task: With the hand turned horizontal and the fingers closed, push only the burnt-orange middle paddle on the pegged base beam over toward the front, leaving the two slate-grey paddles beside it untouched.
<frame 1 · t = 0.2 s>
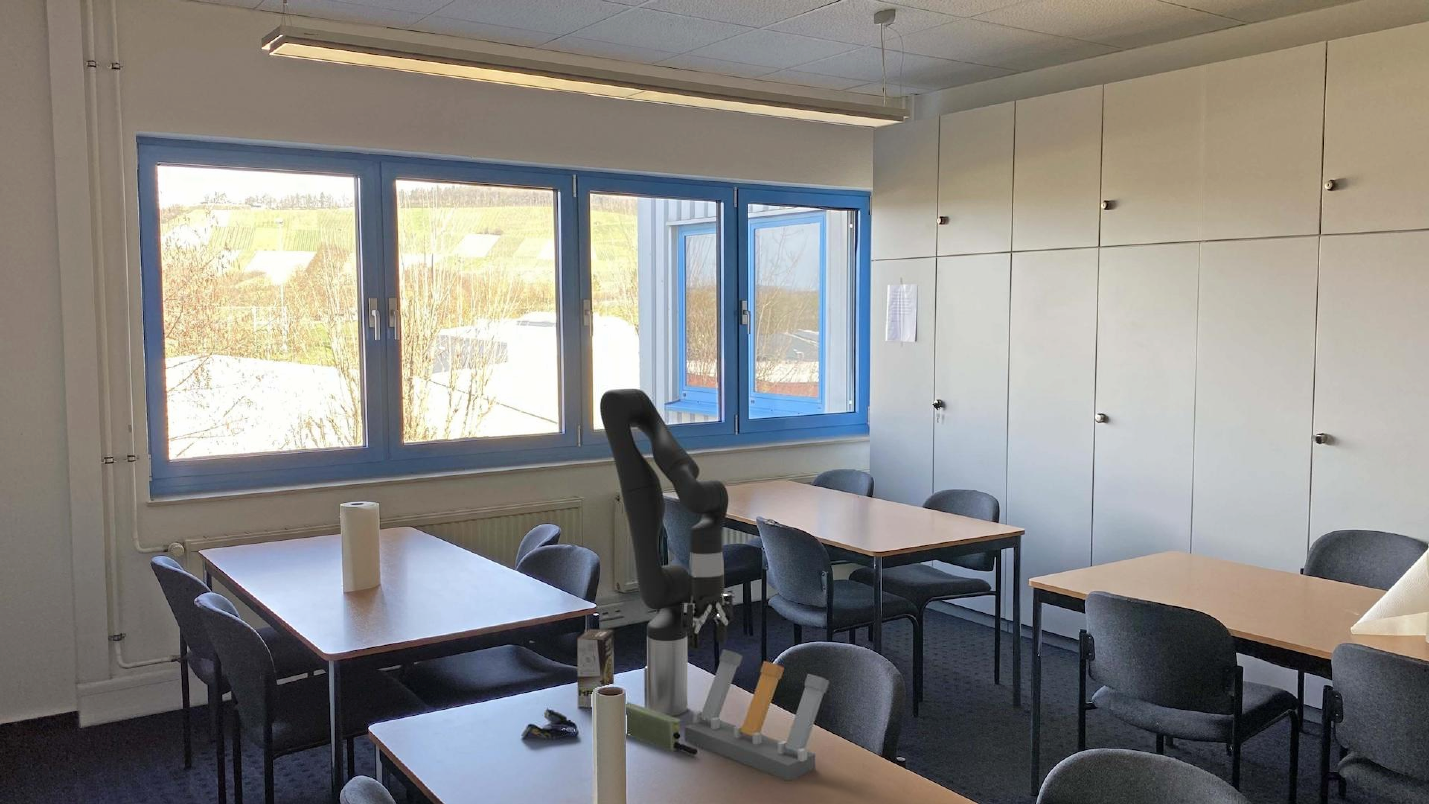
hand: (708, 646, 231), 18 cm above the table, tool pointing down, fingers open, 8 cm apart
orange paddle: (761, 699, 218), point 10 cm above the table, hinge at -30.0°
coffee box: (596, 702, 247), on the table
handheld radio: (652, 743, 223), on the table
pegged base beam: (747, 754, 216), on the table
left paddle: (720, 686, 226), point 10 cm above the table, hinge at -30.0°
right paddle: (806, 713, 209), point 10 cm above the table, hinge at -30.0°
snack package: (552, 737, 226), on the table
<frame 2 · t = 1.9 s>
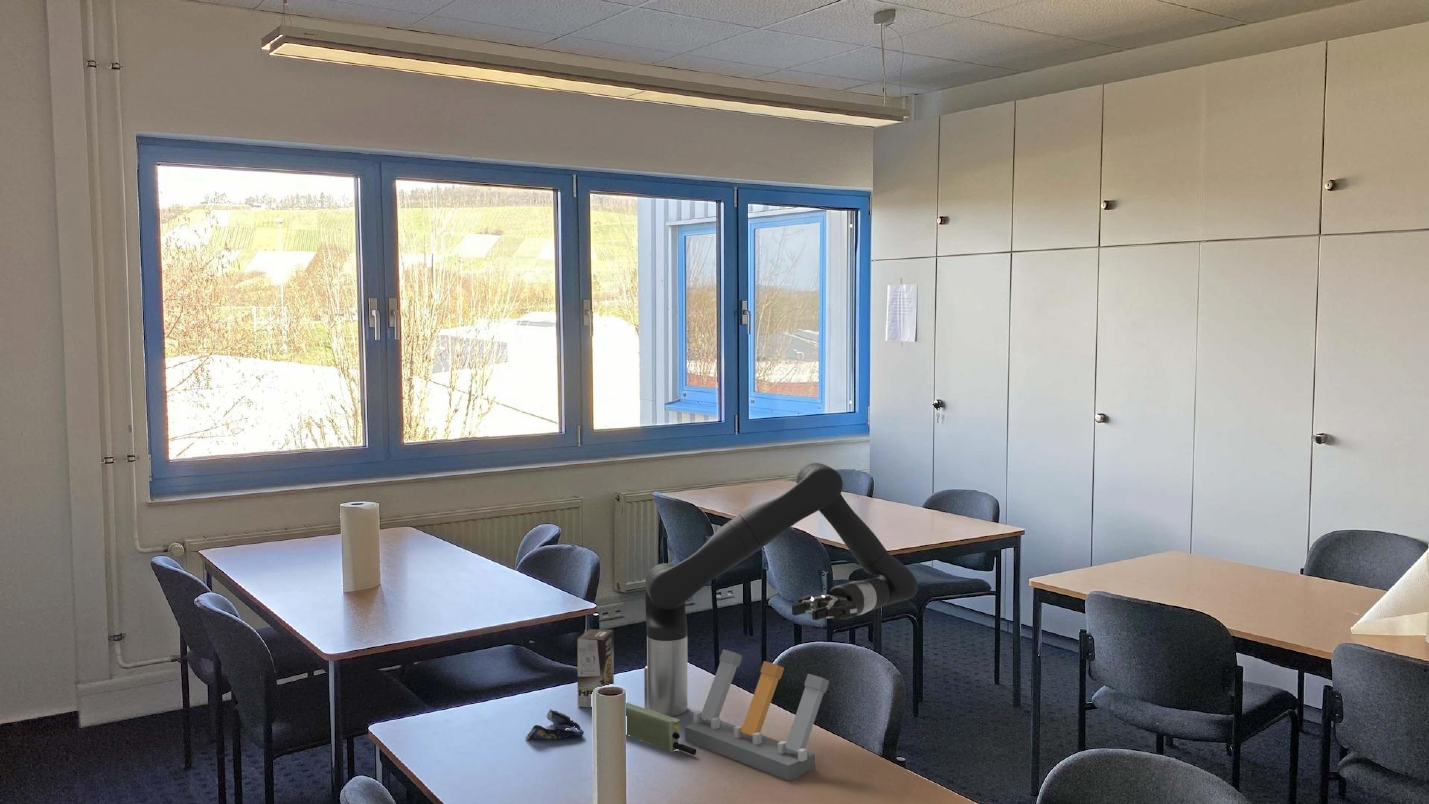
hand: (803, 613, 226), 26 cm above the table, tool horizontal, fingers open, 5 cm apart
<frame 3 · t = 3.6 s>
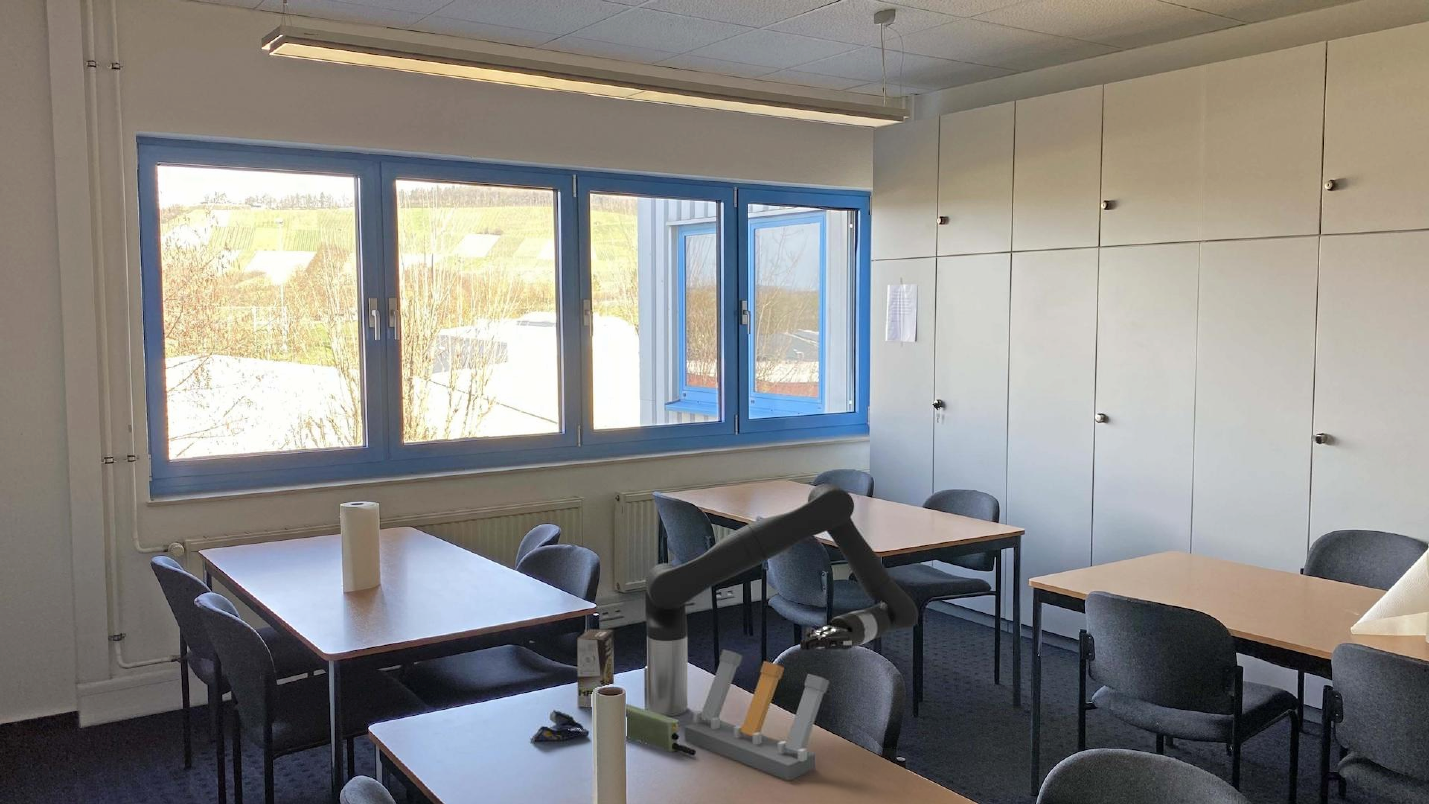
hand: (803, 646, 226), 19 cm above the table, tool horizontal, fingers closed
snack package: (561, 739, 226), on the table
everything else where it was.
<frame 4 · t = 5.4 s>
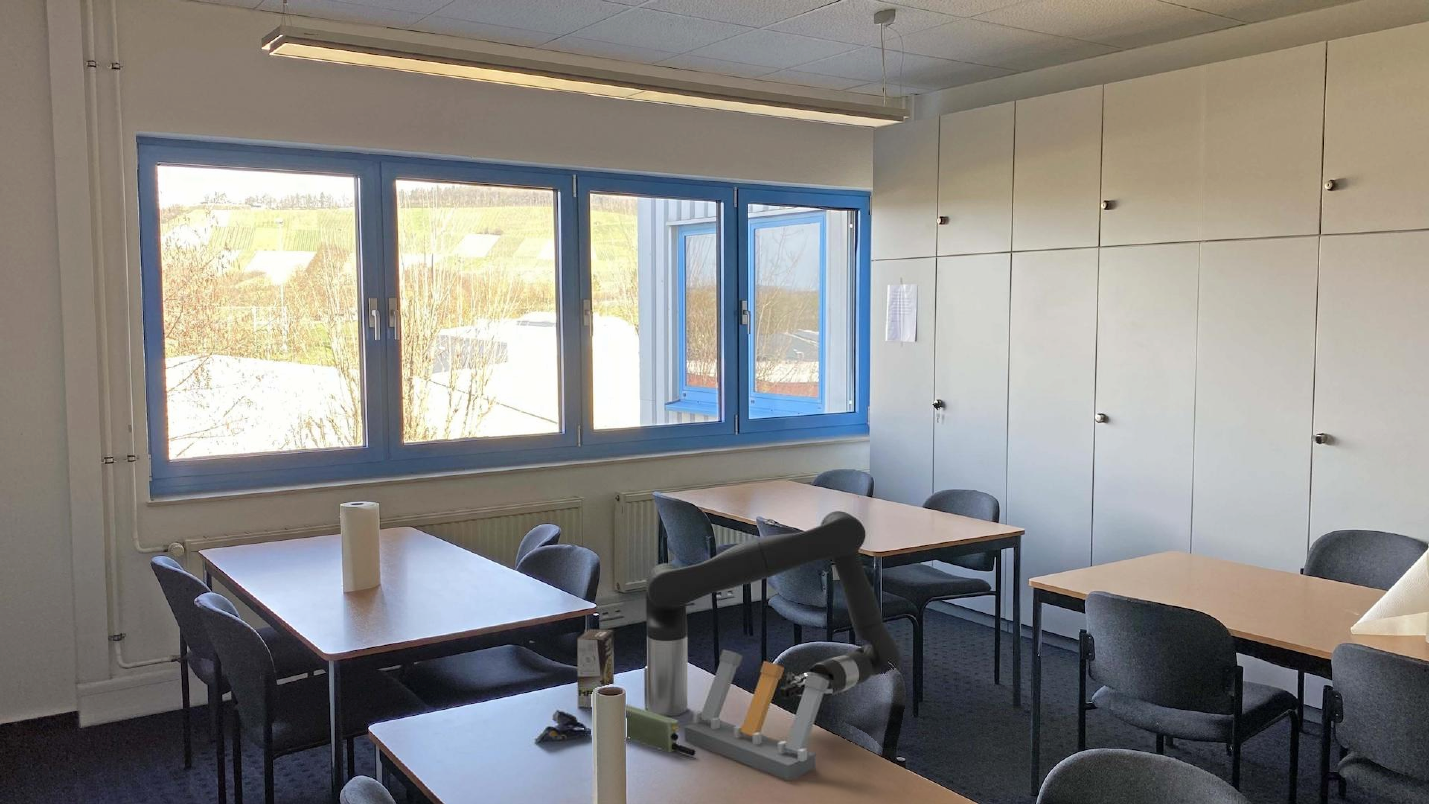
hand: (782, 693, 223), 10 cm above the table, tool horizontal, fingers closed
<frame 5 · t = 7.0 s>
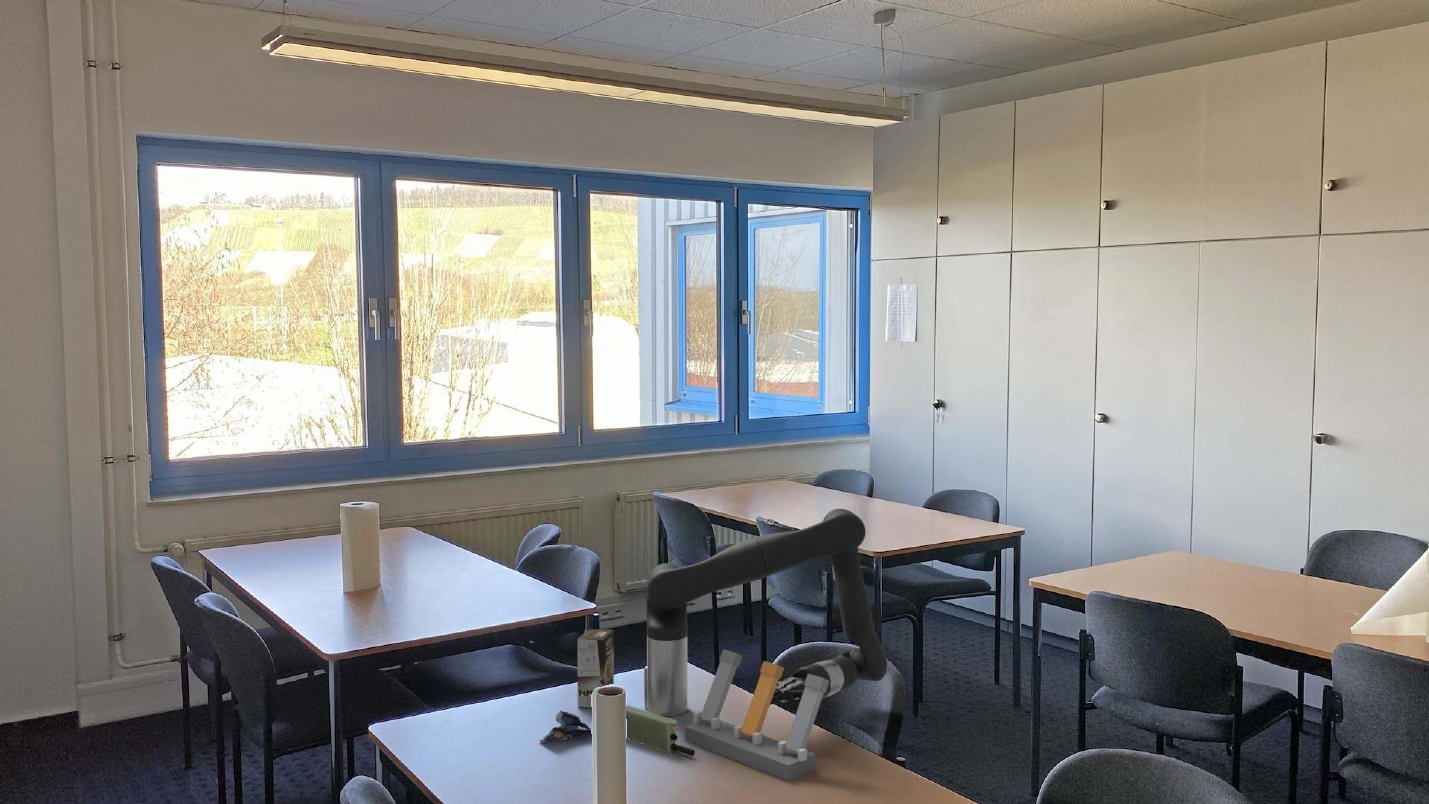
hand: (765, 699, 219), 10 cm above the table, tool horizontal, fingers closed
orange paddle: (761, 699, 218), point 10 cm above the table, hinge at -29.8°, touching gripper
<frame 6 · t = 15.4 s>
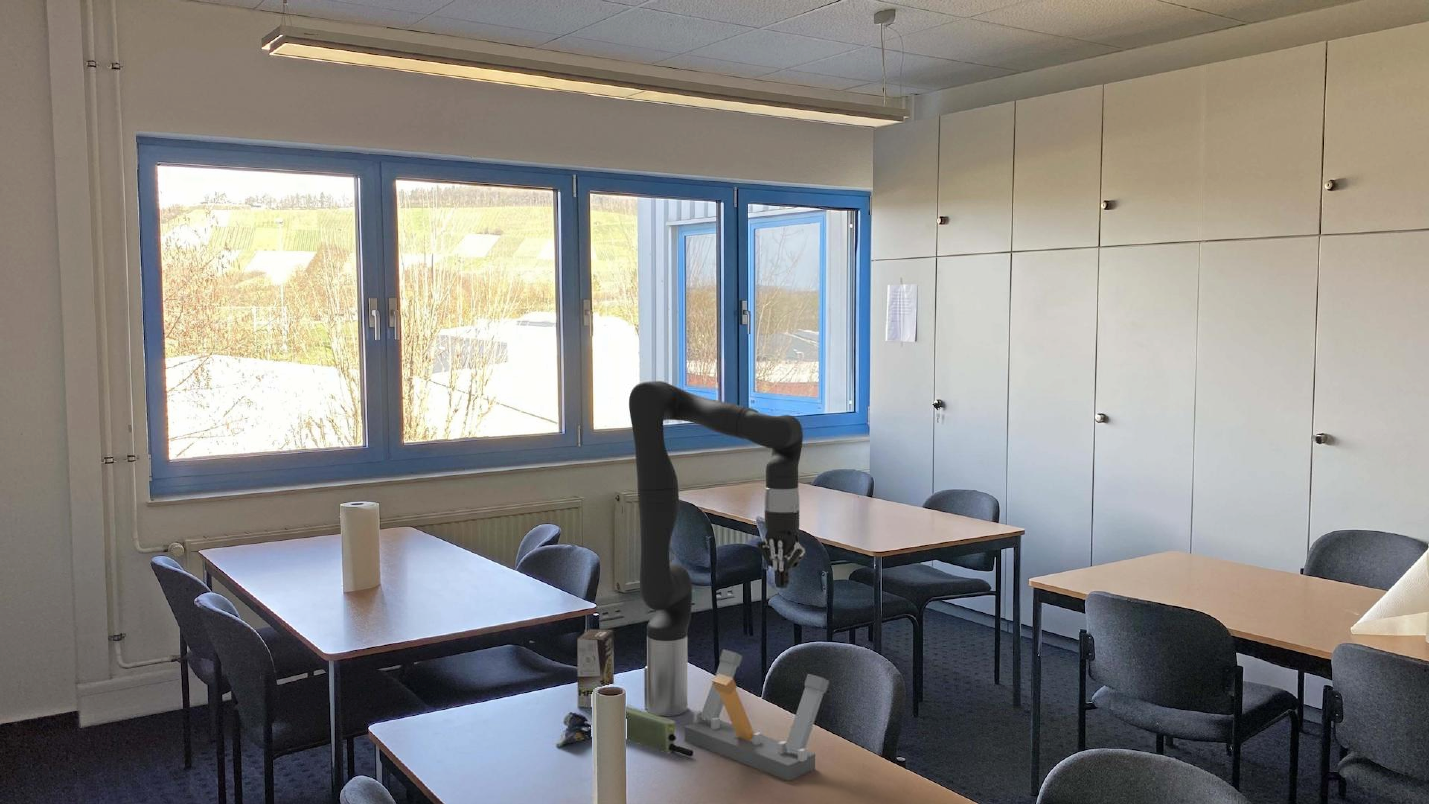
hand: (781, 587, 229), 31 cm above the table, tool pointing down, fingers closed
orange paddle: (734, 708, 212), point 11 cm above the table, hinge at 27.2°
snack package: (580, 739, 225), on the table
at the end: orange paddle at +27° (first picture: -30°); left paddle at -30° (first picture: -30°); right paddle at -30° (first picture: -30°) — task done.
